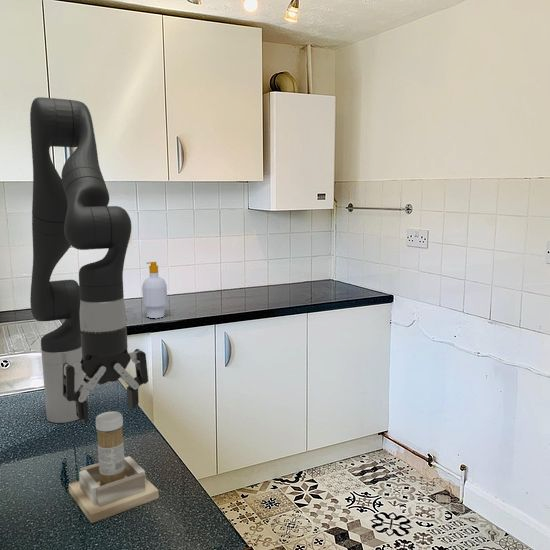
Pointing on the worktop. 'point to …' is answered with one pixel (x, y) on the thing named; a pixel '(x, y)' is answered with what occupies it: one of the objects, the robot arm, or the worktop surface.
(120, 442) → the sprinkles bottle
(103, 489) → the collar base
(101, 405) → the worktop surface
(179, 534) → the worktop surface
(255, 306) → the worktop surface
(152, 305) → the soap bottle
